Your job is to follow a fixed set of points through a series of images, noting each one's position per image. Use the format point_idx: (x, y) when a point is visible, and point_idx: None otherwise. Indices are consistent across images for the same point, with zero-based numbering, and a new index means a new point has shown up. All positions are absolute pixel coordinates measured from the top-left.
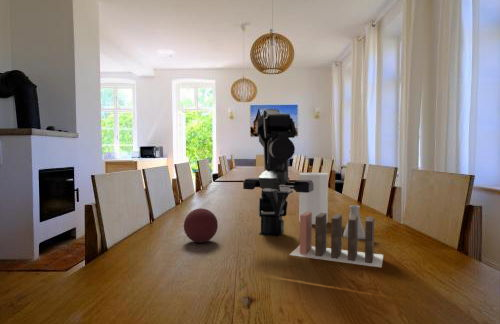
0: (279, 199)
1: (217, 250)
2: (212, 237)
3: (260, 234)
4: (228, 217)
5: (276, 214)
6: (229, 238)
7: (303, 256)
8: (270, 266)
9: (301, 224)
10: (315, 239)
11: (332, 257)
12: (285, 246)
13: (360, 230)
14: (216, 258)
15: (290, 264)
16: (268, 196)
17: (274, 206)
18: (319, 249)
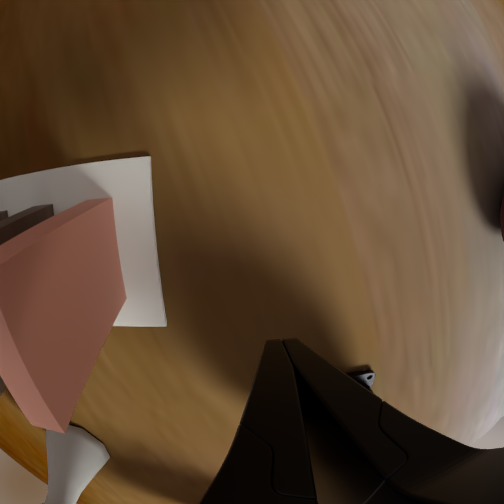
0: (274, 495)
1: (456, 128)
2: (501, 215)
3: (367, 372)
4: (452, 433)
5: (288, 343)
6: (456, 286)
7: (87, 167)
8: (191, 7)
9: (26, 244)
10: (11, 222)
11: (3, 211)
12: (224, 294)
13: (48, 447)
14: (420, 39)
15: (118, 63)
16: (487, 452)
17: (336, 392)
18: (23, 211)
